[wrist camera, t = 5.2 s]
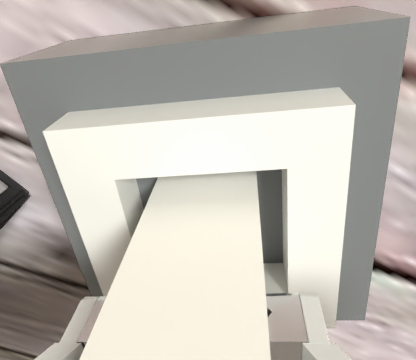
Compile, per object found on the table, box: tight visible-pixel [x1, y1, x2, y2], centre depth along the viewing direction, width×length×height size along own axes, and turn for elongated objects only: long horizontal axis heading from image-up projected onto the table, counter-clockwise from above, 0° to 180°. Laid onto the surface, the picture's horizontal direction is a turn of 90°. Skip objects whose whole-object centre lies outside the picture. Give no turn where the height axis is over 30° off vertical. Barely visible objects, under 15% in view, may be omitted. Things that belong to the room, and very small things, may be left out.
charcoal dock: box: [0, 6, 410, 328], centre depth 17 cm, size 14×14×8 cm
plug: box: [79, 171, 271, 360], centre depth 11 cm, size 4×4×10 cm
